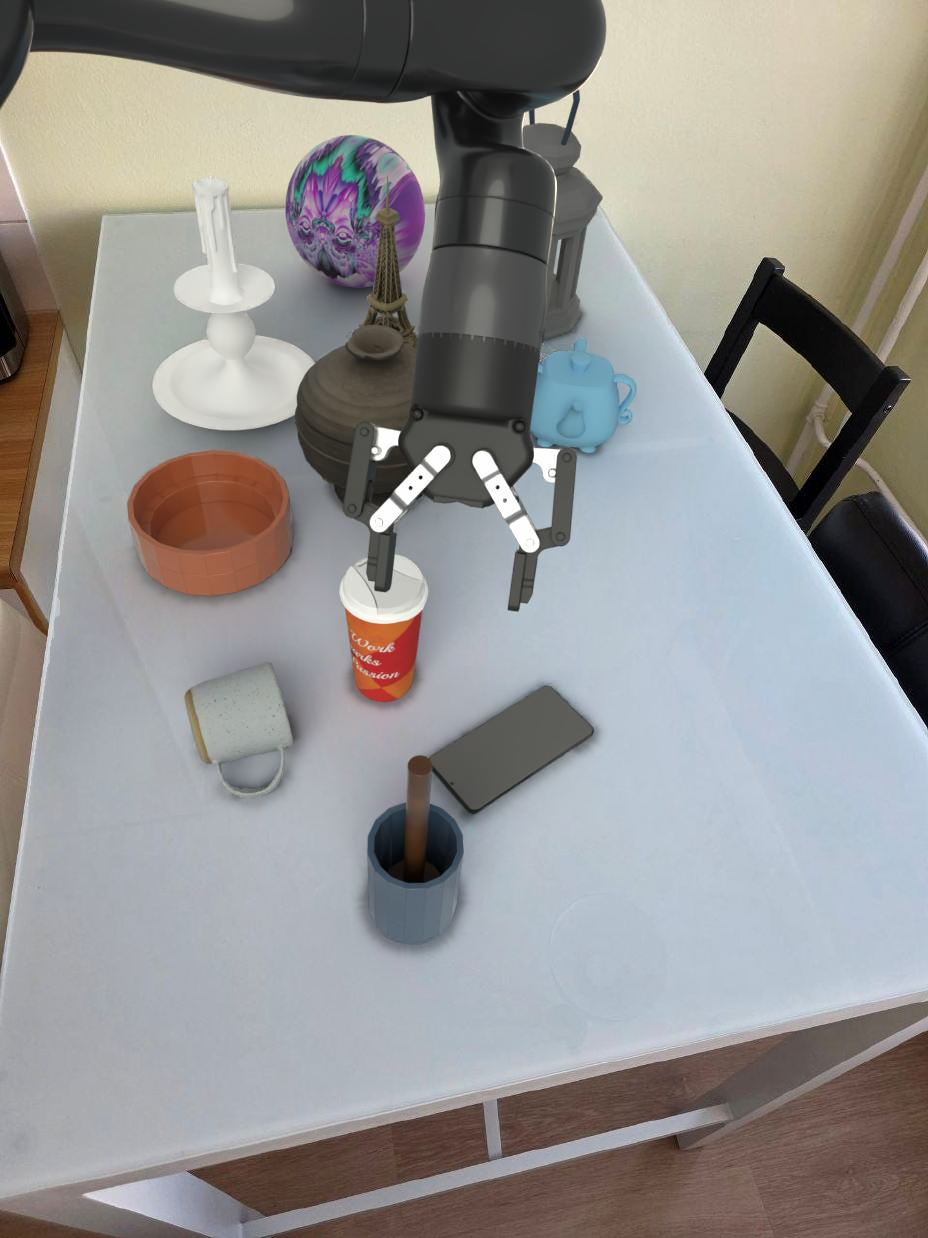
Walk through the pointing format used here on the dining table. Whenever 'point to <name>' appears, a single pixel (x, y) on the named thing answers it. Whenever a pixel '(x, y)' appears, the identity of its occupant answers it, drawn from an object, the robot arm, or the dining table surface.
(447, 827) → the crock
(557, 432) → the blue sugar bowl
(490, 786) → the smartphone
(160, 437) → the dining table surface
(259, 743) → the ceramic mug
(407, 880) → the brown wooden plunger
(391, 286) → the eiffel tower
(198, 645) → the dining table surface
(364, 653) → the paper cup
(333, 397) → the pot
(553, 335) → the lantern
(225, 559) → the mixing bowl
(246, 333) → the candlestick
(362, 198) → the decorative sphere
